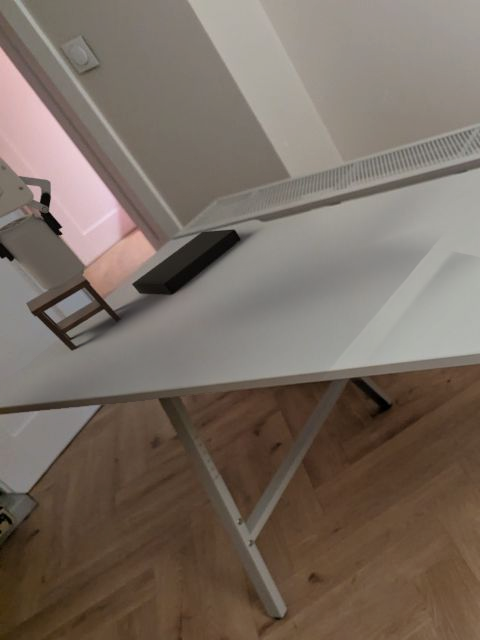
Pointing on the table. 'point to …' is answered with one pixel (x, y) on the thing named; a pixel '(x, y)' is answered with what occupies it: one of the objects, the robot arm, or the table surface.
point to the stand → (70, 322)
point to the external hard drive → (186, 262)
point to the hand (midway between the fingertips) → (36, 246)
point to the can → (41, 252)
